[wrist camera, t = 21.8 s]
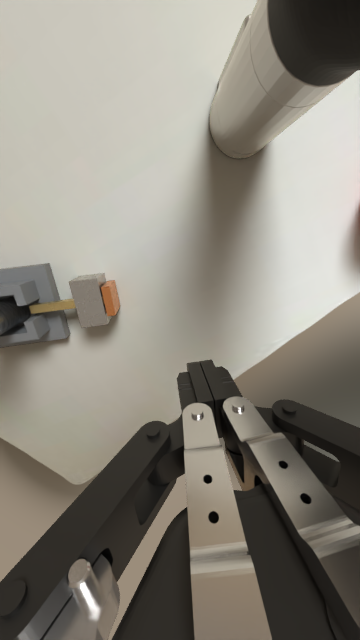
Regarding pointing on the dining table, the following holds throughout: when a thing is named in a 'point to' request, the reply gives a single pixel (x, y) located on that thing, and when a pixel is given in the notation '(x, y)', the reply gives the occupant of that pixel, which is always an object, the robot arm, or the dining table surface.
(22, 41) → the dining table surface
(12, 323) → the cylinder
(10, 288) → the socket
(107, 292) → the lock pin
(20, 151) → the dining table surface
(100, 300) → the block
